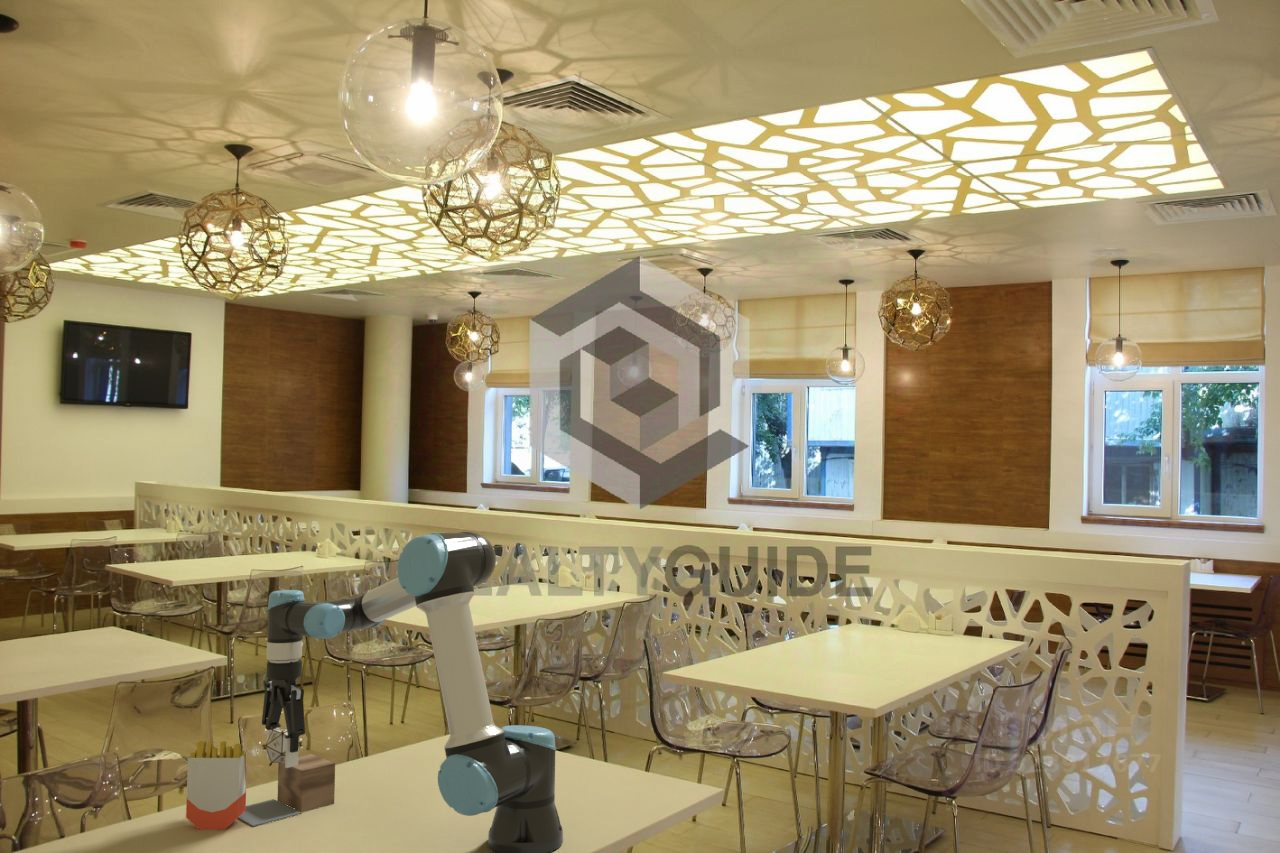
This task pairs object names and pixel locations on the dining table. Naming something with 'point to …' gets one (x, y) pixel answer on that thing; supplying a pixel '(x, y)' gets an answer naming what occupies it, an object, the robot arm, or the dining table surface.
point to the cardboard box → (307, 783)
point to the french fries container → (215, 786)
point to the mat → (266, 812)
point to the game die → (277, 745)
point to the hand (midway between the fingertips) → (282, 762)
